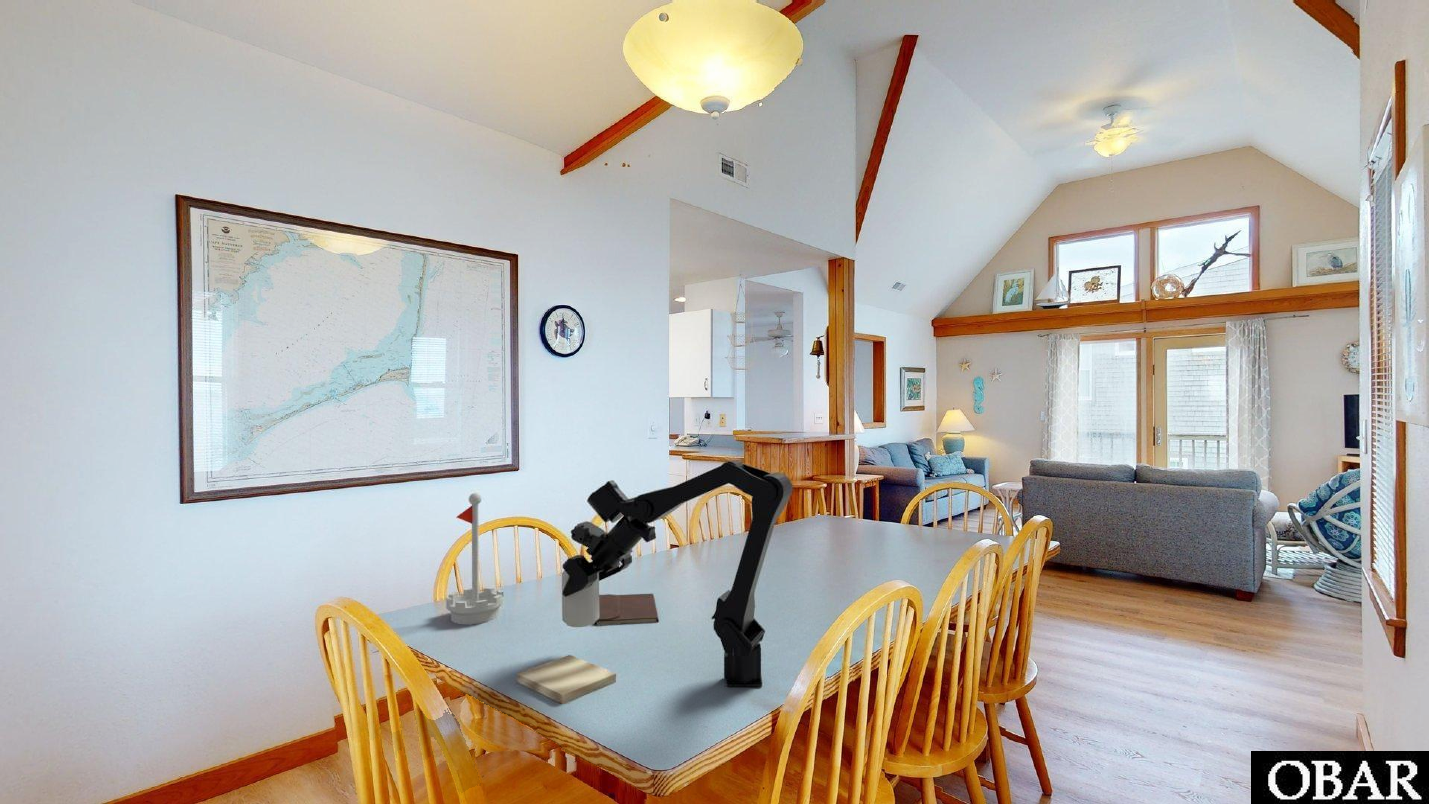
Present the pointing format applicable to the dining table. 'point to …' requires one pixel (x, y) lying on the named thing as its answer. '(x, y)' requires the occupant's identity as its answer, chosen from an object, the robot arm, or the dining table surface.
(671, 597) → the dining table surface
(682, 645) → the dining table surface
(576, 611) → the can
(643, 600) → the notebook
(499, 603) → the flag stand
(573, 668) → the board
